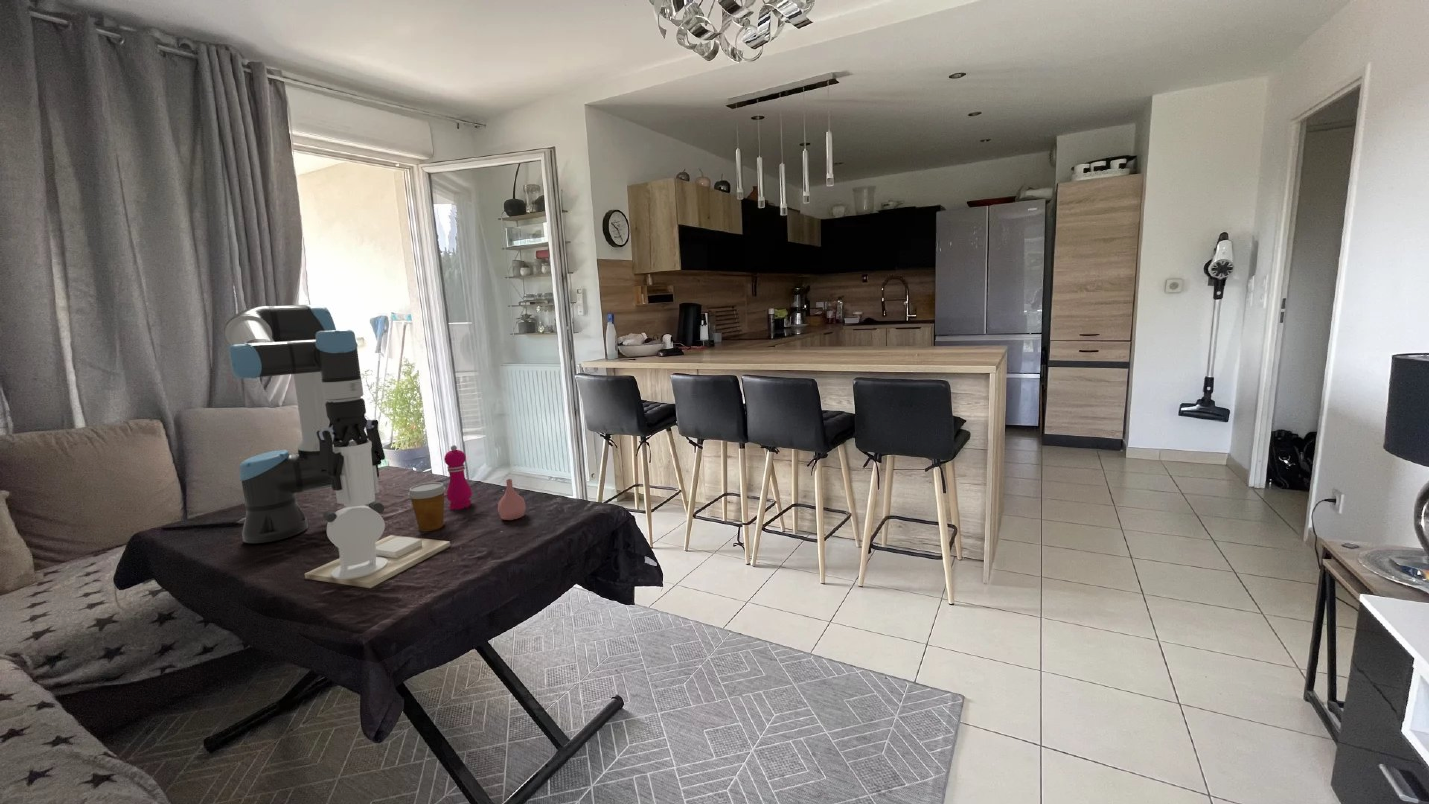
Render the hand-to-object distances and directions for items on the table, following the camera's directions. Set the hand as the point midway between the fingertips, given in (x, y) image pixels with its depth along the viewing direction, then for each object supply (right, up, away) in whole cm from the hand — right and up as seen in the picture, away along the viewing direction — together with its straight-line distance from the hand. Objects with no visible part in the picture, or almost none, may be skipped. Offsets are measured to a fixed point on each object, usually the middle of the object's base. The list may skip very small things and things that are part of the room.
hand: (358, 497), depth 136 cm
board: (0, -17, +9) cm, 20 cm away
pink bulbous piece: (+24, -12, +35) cm, 44 cm away
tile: (-2, -14, +14) cm, 20 cm away
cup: (0, -2, 0) cm, 2 cm away
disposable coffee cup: (+1, -14, +32) cm, 35 cm away
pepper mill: (+3, -11, +48) cm, 50 cm away
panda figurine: (-1, -17, +3) cm, 18 cm away
